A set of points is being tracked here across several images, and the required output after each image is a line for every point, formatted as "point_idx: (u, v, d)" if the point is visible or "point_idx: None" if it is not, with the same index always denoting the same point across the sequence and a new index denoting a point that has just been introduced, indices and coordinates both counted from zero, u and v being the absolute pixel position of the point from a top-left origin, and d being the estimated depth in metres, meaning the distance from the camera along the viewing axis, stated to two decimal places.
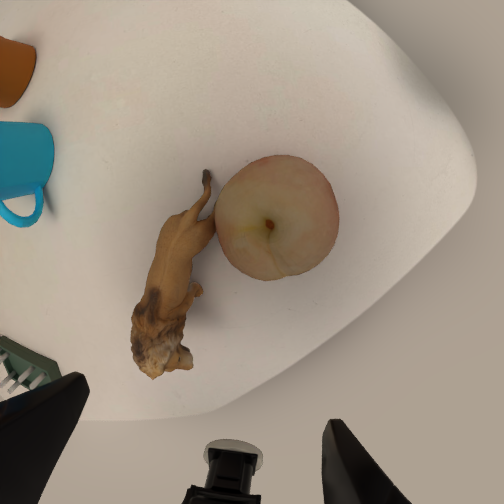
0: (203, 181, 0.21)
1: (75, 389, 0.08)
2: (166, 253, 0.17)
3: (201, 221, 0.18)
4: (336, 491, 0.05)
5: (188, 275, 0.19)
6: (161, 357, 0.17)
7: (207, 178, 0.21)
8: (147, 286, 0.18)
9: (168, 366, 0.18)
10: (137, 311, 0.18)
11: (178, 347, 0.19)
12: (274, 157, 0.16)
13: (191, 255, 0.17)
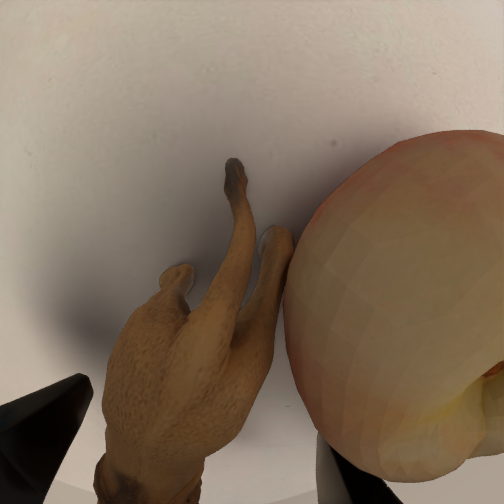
0: (228, 189, 0.08)
1: (79, 391, 0.08)
2: (136, 448, 0.04)
3: (244, 343, 0.05)
4: (329, 491, 0.05)
5: None
6: None
7: (239, 181, 0.08)
8: (108, 460, 0.06)
9: None
10: (100, 495, 0.05)
11: None
12: (502, 137, 0.03)
13: None
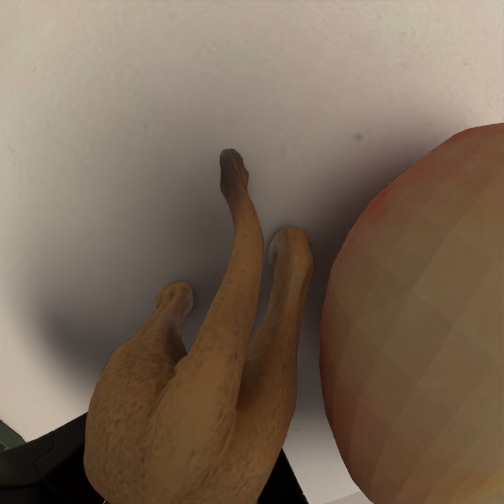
0: (225, 187, 0.06)
1: None
2: None
3: (255, 399, 0.03)
4: None
5: None
6: None
7: (238, 175, 0.06)
8: None
9: None
10: None
11: None
12: None
13: None
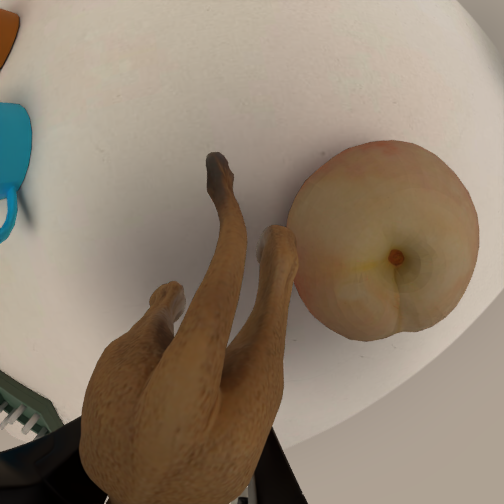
0: (211, 188, 0.07)
1: None
2: None
3: (240, 382, 0.03)
4: (251, 490, 0.06)
5: None
6: None
7: (223, 177, 0.07)
8: None
9: None
10: None
11: None
12: (399, 143, 0.08)
13: None
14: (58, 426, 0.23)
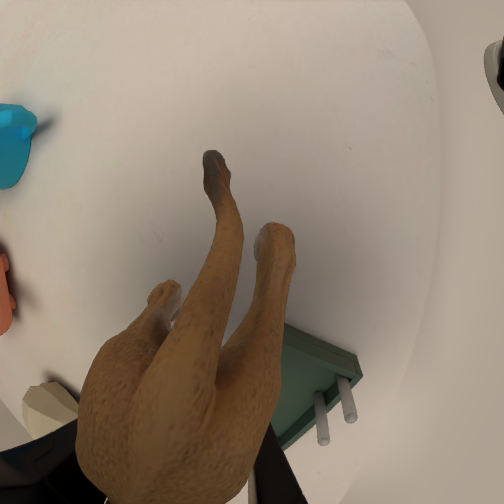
0: (208, 186, 0.07)
1: None
2: None
3: (236, 380, 0.03)
4: (251, 490, 0.06)
5: None
6: None
7: (219, 174, 0.07)
8: None
9: None
10: None
11: None
12: None
13: None
14: (316, 345, 0.18)
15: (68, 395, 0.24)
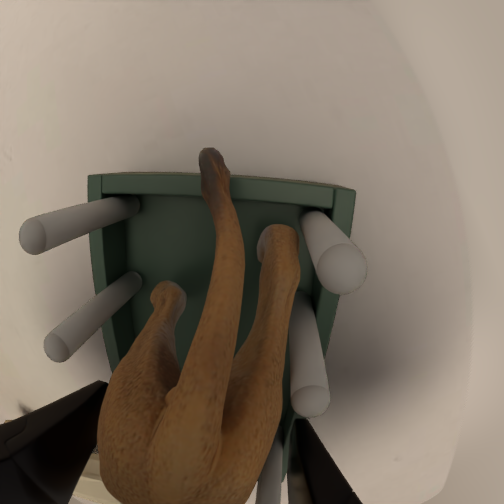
0: (205, 192, 0.06)
1: (100, 399, 0.08)
2: None
3: (239, 422, 0.03)
4: (296, 492, 0.05)
5: None
6: None
7: (218, 179, 0.06)
8: None
9: None
10: None
11: None
12: None
13: None
14: None
15: None
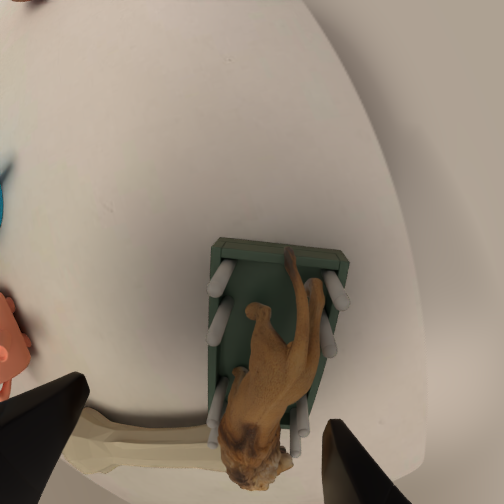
0: (287, 267, 0.15)
1: (75, 389, 0.08)
2: (269, 403, 0.11)
3: (310, 352, 0.12)
4: (336, 491, 0.05)
5: None
6: (268, 480, 0.13)
7: (293, 262, 0.14)
8: (237, 418, 0.13)
9: None
10: (229, 443, 0.13)
11: None
12: None
13: None
14: (284, 247, 0.17)
15: (99, 415, 0.24)
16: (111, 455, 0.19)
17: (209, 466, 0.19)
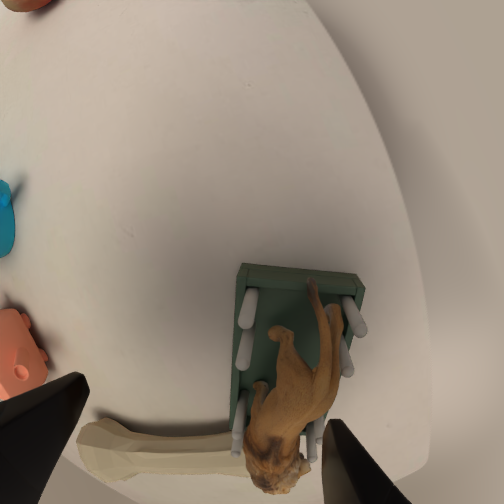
0: (310, 297, 0.15)
1: (75, 389, 0.08)
2: (296, 420, 0.12)
3: (332, 375, 0.13)
4: (336, 491, 0.05)
5: None
6: (290, 485, 0.14)
7: (315, 292, 0.15)
8: (263, 432, 0.14)
9: None
10: (255, 453, 0.14)
11: None
12: None
13: None
14: (304, 274, 0.18)
15: (118, 425, 0.25)
16: (133, 465, 0.20)
17: (229, 472, 0.20)
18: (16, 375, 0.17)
